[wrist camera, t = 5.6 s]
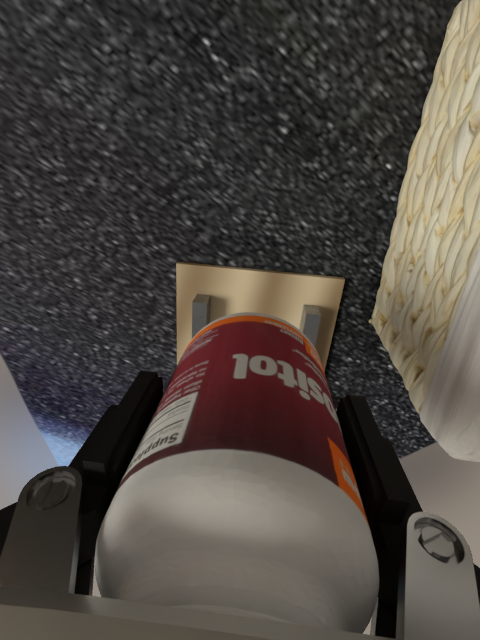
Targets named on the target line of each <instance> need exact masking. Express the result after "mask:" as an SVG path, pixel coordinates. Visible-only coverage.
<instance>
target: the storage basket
mask: <svg viewBox="0 0 480 640" xmlns="http://www.w3.org/2000/svg"><path fill="white" fill-rule="evenodd" d="M369 323H371V324H373V326H374V328H375V329H376V333H377V334H378V335H379V337H380V340H381V341H382V343H383V346H384V348H385V349H386V350H387V351H388V352H389V355H390V359H391V360H392V362H393V364H394V366H395V367H396V368H397V369H398V370H399V373H400V374H401V376H402V378H403V381H404V384H405V387H406V389H407V390H408V391H409V397H410V400H411V401H412V403H413V405H414V407H415V409H416V411H417V412H418V413H419V414H420V420H421V422H422V423H423V424H424V426H425V427H426V428H427V430H428V431H429V433H430V434H431V436H432V437H433V438H434V439H435V440H437V441H438V443H439V445H440V446H441V447H442V448H443V449H444V450H445V451H446V452H447V453H448V454H449V455H450V456H451V457H453V458H456V459H460V460H470V461H476V462H480V0H462V1H461V2H460V3H459V4H458V5H457V7H456V8H455V9H454V11H453V14H452V17H451V19H450V21H449V23H448V25H447V31H446V35H445V39H444V42H443V46H442V50H441V54H440V56H439V58H438V61H437V64H436V67H435V71H434V77H433V83H432V85H431V88H430V90H429V93H428V95H427V98H426V101H425V104H424V107H423V112H422V120H421V127H420V129H419V131H418V133H417V135H416V137H415V140H414V142H413V145H412V147H411V150H410V154H409V159H408V168H407V172H406V175H405V177H404V180H403V183H402V186H401V190H400V195H399V201H398V206H397V216H396V218H395V221H394V224H393V227H392V231H391V237H390V247H389V249H388V251H387V254H386V256H385V260H384V264H383V270H382V278H381V284H380V288H379V290H378V292H377V296H376V304H375V307H374V311H373V314H372V319H370V320H369Z"/></svg>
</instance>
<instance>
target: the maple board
mask: <svg viewBox="0 0 480 640" xmlns="http://www.w3.org/2000/svg"><path fill="white" fill-rule="evenodd" d="M344 282H345V279H344V278H343V277H332V276H322V275H312V274H301V273H291V272H280V271H270V270H259V269H249V268H239V267H228V266H218V265H207V264H197V263H186V262H178V263H177V365H178V363H179V361H180V359H181V357H182V355H183V353H184V351H185V349H186V348H187V346H188V344H189V343H190V341H191V340H192V302H193V300H194V298H195V297H196V295H197V294H205V295H211V305H210V323H211V322H213V321H215V320H216V319H219V318H221V317H223V316H227V315H231V314H236V313H245V312H254V313H262V314H267V315H271V316H274V317H277V318H280V319H283V320H285V321H287V322H289V323H290V324H292V325H293V326H295V327H296V328H298V329H299V328H300V322H301V316H302V310H303V305H304V304H306V305H316V306H318V308H319V310H320V313H321V319H320V324H319V329H318V334H317V339H316V344H315V349H316V351H317V353H318V355H319V358H320V360H321V363H322V366H323V369H324V371H325V367H326V362H327V358H328V353H329V349H330V345H331V340H332V336H333V331H334V327H335V322H336V318H337V313H338V309H339V305H340V300H341V296H342V291H343V287H344Z"/></svg>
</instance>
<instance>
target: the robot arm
mask: <svg viewBox="0 0 480 640" xmlns="http://www.w3.org/2000/svg"><path fill="white" fill-rule="evenodd" d="M162 396H163V380H162V377H158V374H157V373H156V372H148V371H140V373H139V374H138V376H137V377H136V379H135V380H134V382H133V383H132V385H131V387H130V388H129V390H128V391H127V393H126V394H125V396H124V397H123V399H122V400H121V402H120V404H119V405H111V406H110V407H109V408H108V409H107V410H106V412H105V413H104V415H103V416H102V418H101V419H100V421H99V422H98V424H97V425H96V427H95V428H94V430H93V431H92V432H91V434H90V435H89V437H88V438H87V440H86V441H85V443H84V444H83V446H82V447H81V449H80V450H79V451H78V453H77V454H76V456H75V457H74V459H73V460H72V462H71V463H70V465H69V466H68V467H67V466H60V467H54V468H50V469H47V470H45V471H43V472H41V473H39V474H37V475H36V476H35V477H34V478H32V479H31V480H30V481H29V482H28V483H27V484H26V485H25V486H24V488H23V489H22V491H21V493H20V495H19V499H18V502H16V503H14V504H12V505H10V506H8V507H5V508H3V509H1V510H0V640H480V568H479V567H478V566H476V565H475V564H474V563H473V559H472V554H471V550H470V547H469V545H468V544H467V542H466V540H465V538H464V537H463V536H462V535H461V534H460V533H459V531H458V530H457V529H456V528H455V527H454V526H453V525H451V524H450V523H449V522H448V521H446V520H445V519H443V518H441V517H439V516H437V515H435V514H431V513H429V512H423V511H422V509H421V507H420V504H419V502H418V500H417V498H416V496H415V494H414V492H413V490H412V487H411V485H410V483H409V481H408V479H407V477H406V474H405V472H404V470H403V468H402V466H401V464H400V461H399V459H398V457H397V455H396V453H395V451H394V449H393V446H392V444H391V442H390V441H389V439H387V438H386V437H382V435H381V433H380V431H379V429H378V426H377V424H376V422H375V419H374V417H373V415H372V413H371V410H370V408H369V406H368V404H367V401H366V399H365V398H364V397H363V396H355V395H346V397H345V398H341V399H340V401H339V405H338V408H337V412H336V414H337V417H338V420H339V424H340V428H341V431H342V435H343V439H344V442H345V446H346V449H347V453H348V456H349V460H350V463H351V466H352V470H353V473H354V477H355V480H356V483H357V487H358V490H359V494H360V497H361V500H362V504H363V508H364V511H365V514H366V517H367V521H368V524H369V528H370V531H371V535H372V540H373V543H374V547H375V550H376V555H377V560H378V568H379V591H378V597H377V602H376V606H375V610H374V612H373V615H372V621H371V631H370V635H366V634H359V633H352V632H346V631H339V630H332V629H325V628H318V627H312V626H305V625H298V624H291V623H284V622H277V621H270V620H263V619H256V618H249V617H242V616H235V615H228V614H220V613H213V612H206V611H199V610H192V609H185V608H178V607H170V606H163V605H155V604H148V603H140V602H133V601H126V600H118V599H111V598H103V597H95V596H92V590H93V576H94V561H95V550H96V542H97V537H98V533H99V530H100V527H101V524H102V522H103V519H104V517H105V515H106V513H107V510H108V508H109V506H110V504H111V502H112V500H113V497H114V495H115V493H116V491H117V489H118V487H119V484H120V482H121V480H122V478H123V476H124V475H125V473H126V471H127V468H128V466H129V464H130V462H131V460H132V458H133V456H134V454H135V452H136V450H137V448H138V446H139V443H140V442H141V440H142V438H143V436H144V434H145V432H146V430H147V428H148V426H149V423H150V421H151V419H152V417H153V415H154V413H155V411H156V409H157V407H158V405H159V403H160V400H161V398H162Z"/></svg>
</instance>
